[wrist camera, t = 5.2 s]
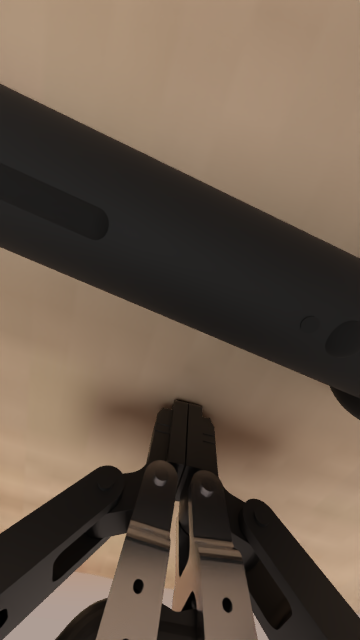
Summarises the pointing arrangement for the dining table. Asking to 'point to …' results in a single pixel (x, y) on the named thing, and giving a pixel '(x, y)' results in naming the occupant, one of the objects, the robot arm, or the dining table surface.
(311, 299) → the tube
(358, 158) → the dining table surface
